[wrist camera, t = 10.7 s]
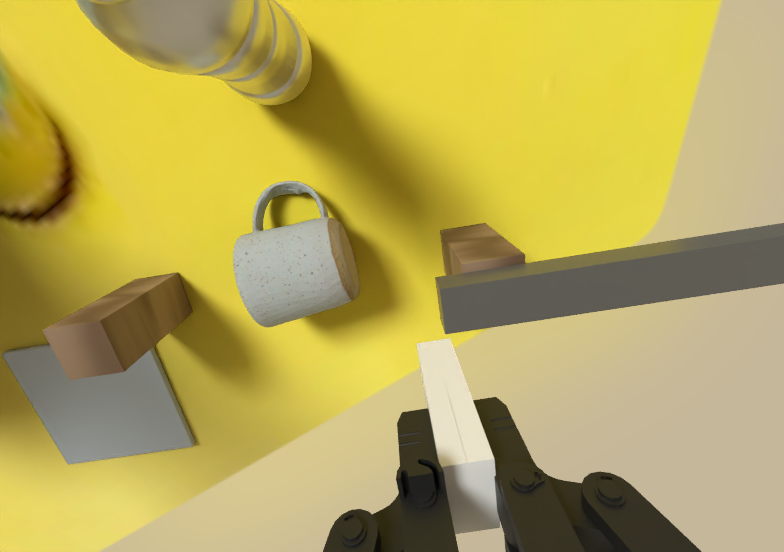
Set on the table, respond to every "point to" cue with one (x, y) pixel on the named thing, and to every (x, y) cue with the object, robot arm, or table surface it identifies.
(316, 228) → the ceramic mug
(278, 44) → the plastic bottle
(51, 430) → the mat
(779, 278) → the dark grey bar
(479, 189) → the table surface
